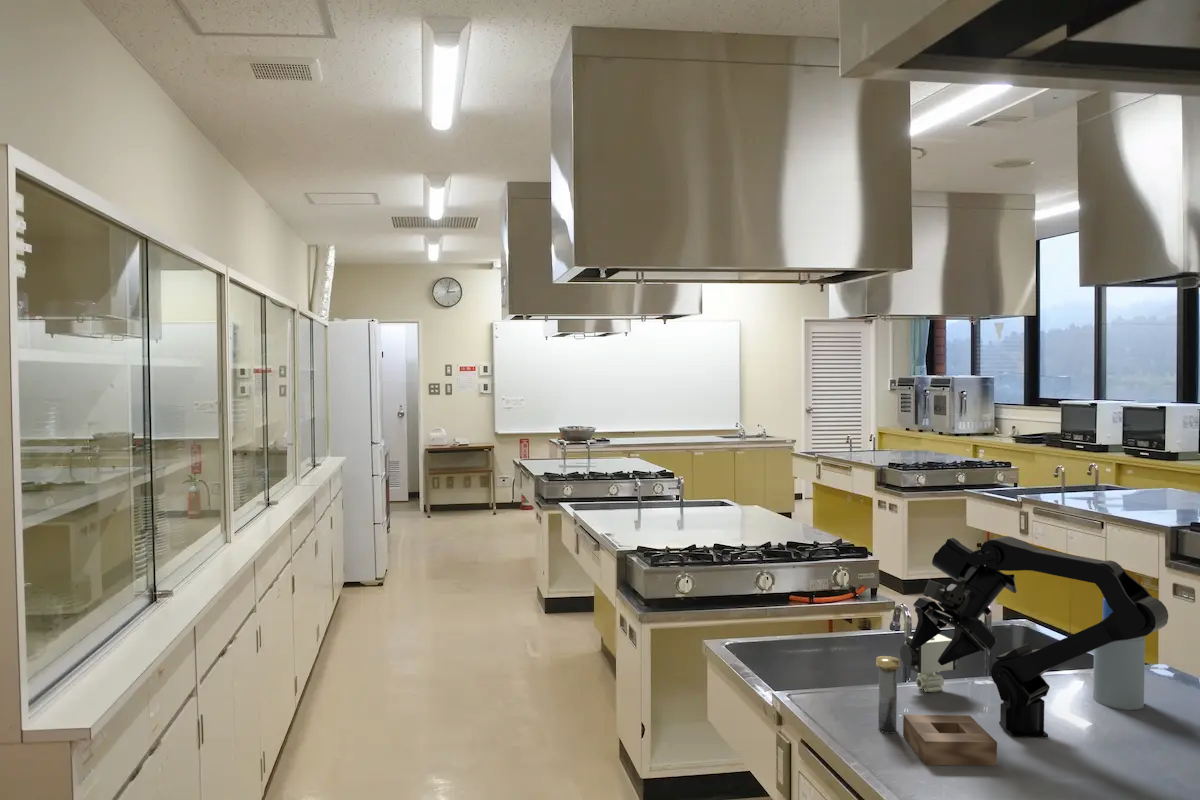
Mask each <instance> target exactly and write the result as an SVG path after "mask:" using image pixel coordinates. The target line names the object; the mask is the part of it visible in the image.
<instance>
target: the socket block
mask: <svg viewBox="0 0 1200 800" xmlns="http://www.w3.org/2000/svg"><path fill="white" fill-rule="evenodd" d="M902 717H903V719H902V720H903V723H902V725H903V727H902V729H903V730H902V732H903V733H902V734H903V735H902V736H904V737H903V738H904V739H905V741H906V740H907V741H908V742H907V741H906V742H907V743H908V745H910V747H911V748H912V750H913V751H914V752H915V753H916V755H917V756H918V757H919V759H920V760H921V762H922V763H923V764H924V765H925V766H926V765H929V766H930V765H931V766H989V767H990V766H993V767H995V766H997V765H998V762H997V761H998V760H997V759H998V757H997V756H998V742H997V740H995V739H994V738H993V737H992V736H991V735H990V734H989V733H988V732H987V731H986V729H984V728H983V727H982V726H981V724H979V723H978V722H977V721H976V720H975V719H974V718H973V717H972V716H971V715H969V714H966V715H964V714H962V715H961V714H960V715H959V714H957V715H956V714H903V716H902Z"/></svg>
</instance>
